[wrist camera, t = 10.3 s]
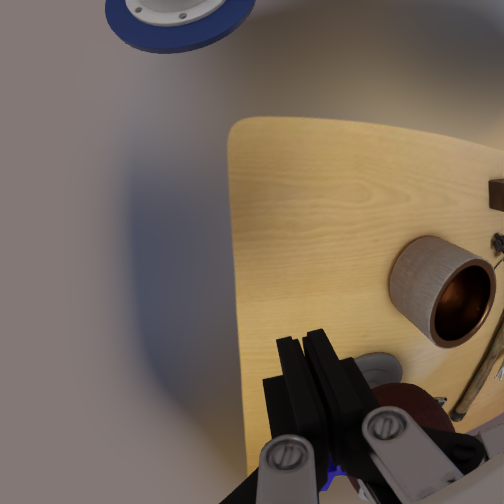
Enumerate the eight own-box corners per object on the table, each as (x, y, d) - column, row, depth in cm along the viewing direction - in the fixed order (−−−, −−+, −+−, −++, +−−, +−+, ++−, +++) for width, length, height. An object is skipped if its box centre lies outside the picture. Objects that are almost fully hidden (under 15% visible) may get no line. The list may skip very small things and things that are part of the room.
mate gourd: (331, 349, 36) (393, 473, 17) (416, 343, 38) (494, 433, 18) (309, 427, 41) (339, 534, 21) (385, 417, 42) (432, 505, 23)
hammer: (438, 418, 44) (444, 426, 42) (514, 249, 35) (524, 254, 32) (472, 409, 45) (478, 416, 43) (540, 259, 36) (549, 263, 34)
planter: (381, 318, 36) (417, 358, 27) (391, 235, 33) (439, 259, 24) (443, 307, 36) (483, 339, 27) (456, 233, 33) (505, 254, 24)
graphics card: (439, 408, 43) (447, 396, 42) (441, 410, 42) (449, 399, 42) (413, 410, 42) (421, 398, 42) (415, 413, 42) (423, 400, 41)
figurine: (488, 275, 36) (474, 255, 37) (515, 243, 34) (502, 225, 36) (501, 268, 31) (485, 246, 33) (529, 234, 30) (514, 214, 31)
